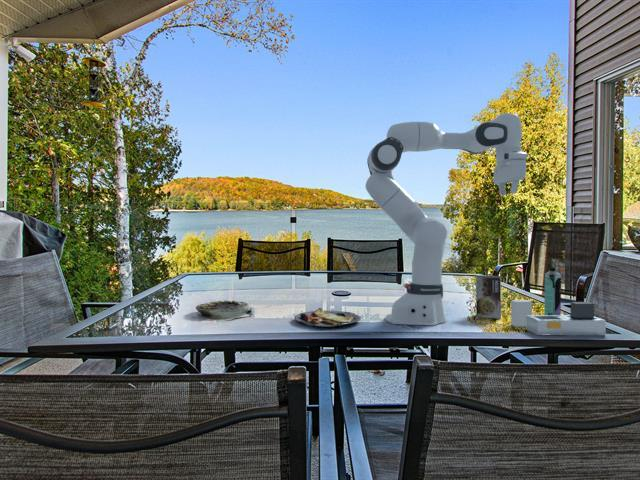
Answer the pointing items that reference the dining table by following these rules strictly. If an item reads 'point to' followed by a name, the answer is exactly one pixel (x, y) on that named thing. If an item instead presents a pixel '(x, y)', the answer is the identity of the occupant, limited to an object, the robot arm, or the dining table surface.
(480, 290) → the coffee box
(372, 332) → the dining table surface
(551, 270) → the spray can
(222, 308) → the grey round shallow dish
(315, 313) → the food plate
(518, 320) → the panel
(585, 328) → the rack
